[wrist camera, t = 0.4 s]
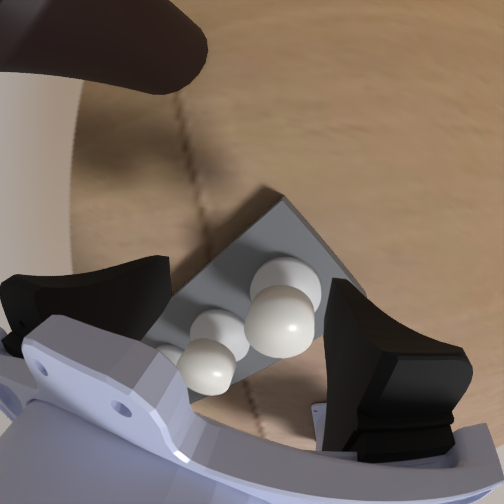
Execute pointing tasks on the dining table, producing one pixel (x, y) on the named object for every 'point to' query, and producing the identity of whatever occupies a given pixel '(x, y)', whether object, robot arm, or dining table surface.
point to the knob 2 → (280, 322)
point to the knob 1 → (207, 366)
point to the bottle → (103, 42)
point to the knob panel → (249, 288)
